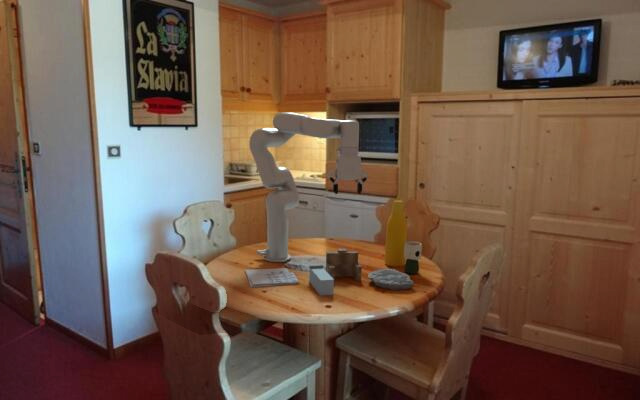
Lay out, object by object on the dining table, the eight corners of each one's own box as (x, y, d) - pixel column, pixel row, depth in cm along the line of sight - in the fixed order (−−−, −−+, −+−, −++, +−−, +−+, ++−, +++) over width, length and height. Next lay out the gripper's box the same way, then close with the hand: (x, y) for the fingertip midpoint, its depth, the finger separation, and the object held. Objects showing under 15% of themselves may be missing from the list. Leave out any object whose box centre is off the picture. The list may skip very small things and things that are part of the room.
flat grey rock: (359, 278, 194) (359, 271, 194) (395, 274, 200) (396, 267, 200) (381, 294, 176) (382, 287, 176) (421, 290, 182) (421, 282, 182)
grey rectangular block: (320, 296, 173) (320, 277, 172) (309, 281, 188) (309, 264, 187) (333, 295, 174) (334, 276, 173) (321, 281, 189) (322, 264, 188)
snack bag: (250, 288, 179) (250, 283, 179) (244, 272, 199) (244, 267, 198) (299, 285, 185) (299, 280, 184) (289, 269, 204) (289, 265, 203)
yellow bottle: (399, 268, 208) (402, 203, 203) (380, 264, 214) (383, 200, 209) (408, 263, 215) (412, 201, 211) (390, 259, 221) (394, 198, 216)
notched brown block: (329, 281, 188) (330, 254, 186) (325, 275, 196) (326, 248, 194) (361, 280, 190) (362, 253, 188) (355, 274, 199) (356, 248, 197)
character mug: (414, 277, 196) (416, 247, 194) (398, 274, 200) (400, 244, 198) (424, 271, 205) (426, 242, 203) (409, 268, 209) (410, 239, 207)
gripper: (329, 151, 185) (328, 195, 188) (372, 152, 189) (370, 194, 191) (326, 150, 193) (324, 192, 195) (366, 151, 196) (365, 192, 199)
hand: (347, 193), depth 193 cm, fingers open, 9 cm apart
